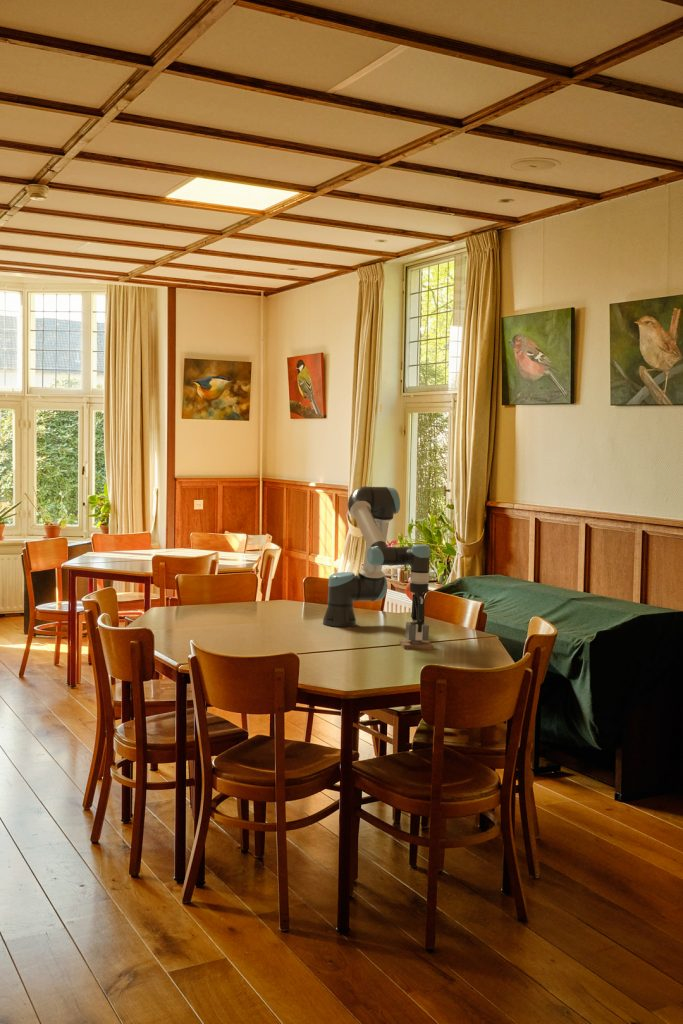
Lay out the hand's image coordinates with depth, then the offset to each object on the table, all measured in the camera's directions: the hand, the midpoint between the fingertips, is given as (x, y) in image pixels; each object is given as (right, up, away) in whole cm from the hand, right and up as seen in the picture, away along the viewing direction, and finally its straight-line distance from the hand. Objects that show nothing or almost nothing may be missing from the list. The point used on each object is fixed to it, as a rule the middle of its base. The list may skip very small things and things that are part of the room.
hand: (416, 637), depth 408 cm
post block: (0, -4, 0) cm, 4 cm away
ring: (0, 0, 0) cm, 0 cm away
